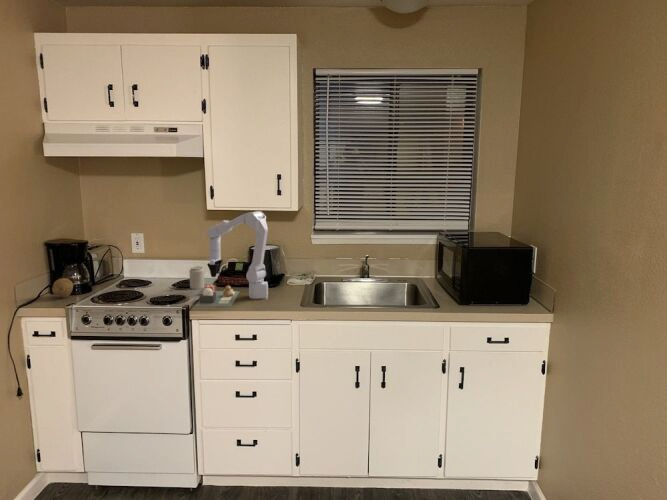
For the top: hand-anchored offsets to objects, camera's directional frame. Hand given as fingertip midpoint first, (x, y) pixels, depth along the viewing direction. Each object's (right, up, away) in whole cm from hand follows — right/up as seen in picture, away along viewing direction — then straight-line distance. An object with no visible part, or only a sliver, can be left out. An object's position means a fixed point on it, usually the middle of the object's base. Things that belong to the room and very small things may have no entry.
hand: (215, 275), depth 244 cm
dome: (+1, -10, -16) cm, 19 cm away
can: (-12, -8, +9) cm, 17 cm away
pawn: (+8, -10, -6) cm, 14 cm away
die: (-2, -9, -3) cm, 10 cm away
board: (+4, -12, -11) cm, 17 cm away
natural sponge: (-72, -11, -12) cm, 74 cm away
